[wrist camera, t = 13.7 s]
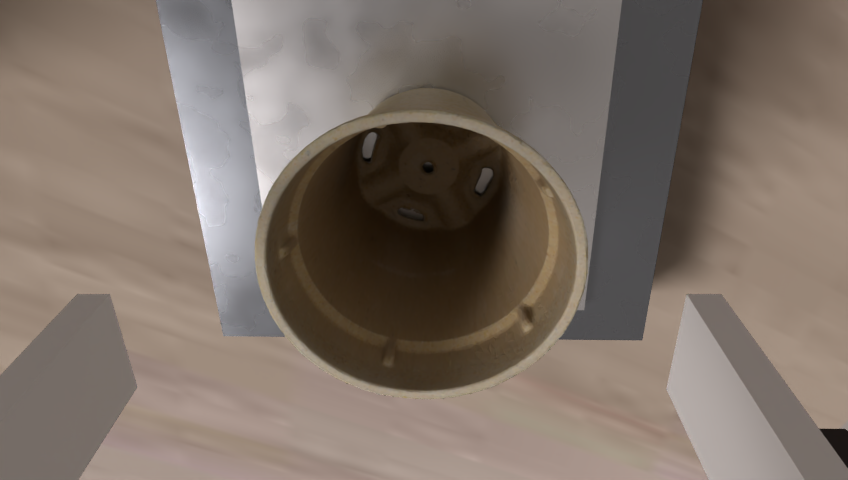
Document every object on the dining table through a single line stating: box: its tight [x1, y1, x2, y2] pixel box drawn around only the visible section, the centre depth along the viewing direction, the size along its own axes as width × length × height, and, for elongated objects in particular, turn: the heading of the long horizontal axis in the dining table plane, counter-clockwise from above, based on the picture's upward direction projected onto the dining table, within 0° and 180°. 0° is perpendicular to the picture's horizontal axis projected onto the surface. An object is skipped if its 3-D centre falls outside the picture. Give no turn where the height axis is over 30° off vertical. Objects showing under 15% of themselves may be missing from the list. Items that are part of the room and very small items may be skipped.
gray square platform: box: [156, 0, 703, 340], centre depth 27 cm, size 20×18×4 cm
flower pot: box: [255, 88, 588, 399], centre depth 21 cm, size 9×9×9 cm
